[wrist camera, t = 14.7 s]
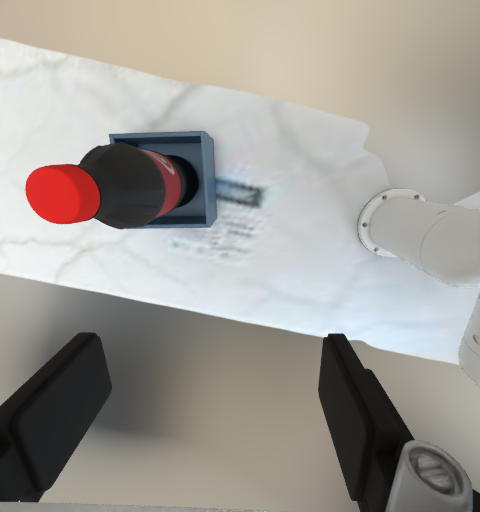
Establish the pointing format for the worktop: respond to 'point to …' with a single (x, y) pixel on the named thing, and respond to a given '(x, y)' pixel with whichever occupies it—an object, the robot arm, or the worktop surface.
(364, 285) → the worktop surface
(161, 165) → the cola bottle
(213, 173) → the case
